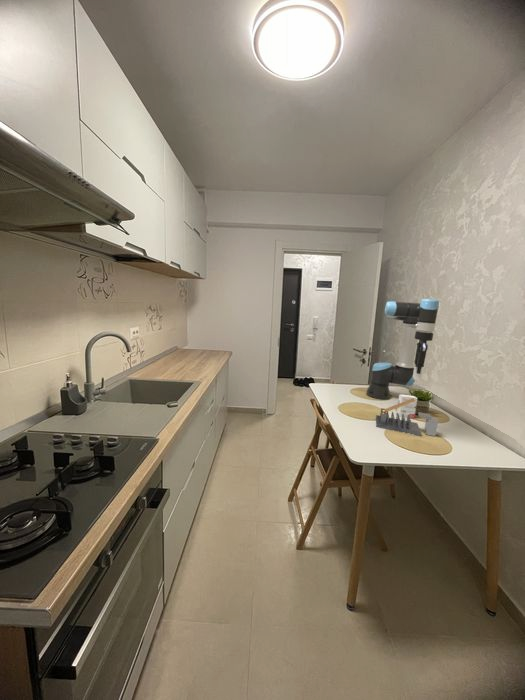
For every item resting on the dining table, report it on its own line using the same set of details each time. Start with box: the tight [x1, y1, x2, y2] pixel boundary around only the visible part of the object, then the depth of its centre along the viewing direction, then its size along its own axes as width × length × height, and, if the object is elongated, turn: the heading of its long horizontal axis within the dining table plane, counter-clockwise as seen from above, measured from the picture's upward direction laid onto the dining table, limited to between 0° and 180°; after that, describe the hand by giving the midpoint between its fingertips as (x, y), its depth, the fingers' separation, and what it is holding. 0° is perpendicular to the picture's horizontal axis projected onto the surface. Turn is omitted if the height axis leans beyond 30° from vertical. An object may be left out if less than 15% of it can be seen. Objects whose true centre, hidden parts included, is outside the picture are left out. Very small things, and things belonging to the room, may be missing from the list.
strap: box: [382, 398, 415, 413], centre depth 143 cm, size 4×16×2 cm
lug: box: [418, 411, 439, 437], centre depth 140 cm, size 5×8×9 cm, turn 69°
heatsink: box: [375, 407, 422, 437], centre depth 144 cm, size 12×20×7 cm, turn 69°
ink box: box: [395, 394, 418, 419], centre depth 161 cm, size 9×5×12 cm, turn 84°
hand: (416, 378), depth 139 cm, fingers open, 3 cm apart
